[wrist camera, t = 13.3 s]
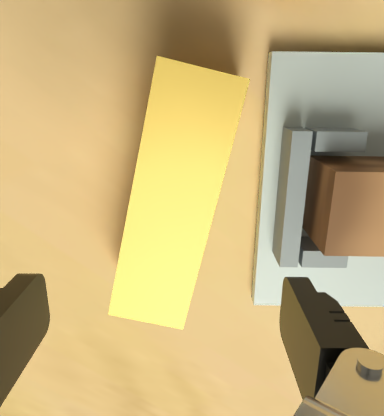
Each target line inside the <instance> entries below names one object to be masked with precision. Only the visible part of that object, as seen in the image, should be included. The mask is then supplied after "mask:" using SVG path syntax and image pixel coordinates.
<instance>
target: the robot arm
mask: <svg viewBox="0 0 384 416" xmlns="http://www.w3.org/2000/svg"><path fill="white" fill-rule="evenodd" d="M49 321H50V313H49V306H48V298H47V291H46V284H45V278H44V276H43V275H42V274H17V275H16V276H15V277H14V278H13V279H12V280H11V281H10V282H9V283H8V284H7V285H6V286H5V287H4V288H0V407H1V405H2V403H3V402H4V400H5V399H6V397H7V395H8V394H9V392H10V391H11V389H12V387H13V386H14V384H15V383H16V381H17V379H18V378H19V376H20V375H21V373H22V371H23V370H24V368H25V367H26V365H27V363H28V362H29V360H30V359H31V357H32V355H33V354H34V352H35V351H36V349H37V347H38V346H39V344H40V343H41V341H42V339H43V338H44V336H45V335H46V333H47V330H48V327H49ZM280 332H281V337H282V340H283V343H284V346H285V349H286V352H287V355H288V358H289V361H290V364H291V367H292V370H293V372H294V375H295V378H296V381H297V384H298V387H299V390H300V393H301V396H302V399H303V401H302V403H301V404H300V406H299V408H298V409H297V411H296V413H295V414H294V416H384V355H383V354H381V353H378V352H376V351H373V350H370V349H369V348H368V346H367V345H366V343H365V342H364V340H363V339H362V337H361V336H360V334H359V333H358V331H357V330H356V328H355V327H354V325H353V324H352V322H350V319H349V318H348V316H347V315H346V313H344V310H343V309H342V307H341V306H340V304H339V303H338V301H337V300H335V299H334V298H333V297H331V296H330V295H328V294H327V293H326V292H317V291H316V289H315V288H314V286H313V284H312V282H311V281H310V279H309V278H308V277H285V278H284V280H283V286H282V298H281V309H280Z"/></svg>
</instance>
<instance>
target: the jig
mask: <svg viewBox="0 0 384 416" xmlns="http://www.w3.org/2000/svg"><path fill="white" fill-rule="evenodd" d="M310 155H312V156H384V53H378V52H283V51H272V52H270V53H268V67H267V81H266V95H265V110H264V124H263V138H262V152H261V167H260V181H259V195H258V210H257V224H256V238H255V253H254V267H253V281H252V295H251V297H252V301H253V304H254V305H281V298H282V286H283V280H284V278H285V277H308V278H309V279H310V281H311V282H312V284H313V286H314V288H315V289H316V291H317V292H326V293H327V294H328V295H330V296H331V297H333V298H334V299H335V300H337V301H338V303H339V304H340V306H364V307H384V257H366V256H324V255H323V254H322V252H321V251H320V250H319V249H318V247H317V246H316V245H315V243H314V242H313V241H312V239H311V238H310V237H309V236H308V234H307V233H306V232H305V230H304V229H303V228H302V224H303V216H304V207H305V198H306V189H307V180H308V171H309V162H310Z"/></svg>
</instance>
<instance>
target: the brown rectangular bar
mask: <svg viewBox="0 0 384 416" xmlns="http://www.w3.org/2000/svg"><path fill="white" fill-rule="evenodd" d="M302 228H303V229H304V230H305V232H306V233H307V234H308V236H309V237H310V238H311V239H312V241H313V242H314V243H315V245H316V246H317V247H318V249H319V250H320V251H321V252H322V254H323V255H324V256H366V257H384V156H312V155H310V162H309V171H308V180H307V189H306V198H305V207H304V216H303V224H302Z"/></svg>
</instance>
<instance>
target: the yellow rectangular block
mask: <svg viewBox="0 0 384 416" xmlns="http://www.w3.org/2000/svg"><path fill="white" fill-rule="evenodd" d="M249 81H250V79H248V78H244V77H240V76H236V75H232V74H228V73H224V72H220V71H216V70H212V69H208V68H204V67H200V66H196V65H192V64H188V63H184V62H180V61H176V60H172V59H168V58H164V57H160V56H157V57H156V63H155V68H154V73H153V79H152V84H151V89H150V95H149V100H148V105H147V110H146V116H145V121H144V126H143V132H142V137H141V142H140V148H139V153H138V158H137V163H136V169H135V174H134V179H133V185H132V190H131V195H130V201H129V206H128V211H127V216H126V222H125V227H124V232H123V238H122V243H121V248H120V253H119V259H118V264H117V269H116V275H115V280H114V285H113V291H112V296H111V301H110V306H109V312H108V315H112V316H117V317H122V318H127V319H132V320H137V321H142V322H147V323H152V324H157V325H162V326H167V327H172V328H177V329H182V330H183V328H184V324H185V320H186V317H187V313H188V309H189V305H190V302H191V298H192V294H193V290H194V287H195V283H196V279H197V275H198V272H199V268H200V264H201V260H202V257H203V253H204V249H205V246H206V242H207V238H208V234H209V231H210V227H211V223H212V219H213V216H214V212H215V208H216V204H217V201H218V197H219V193H220V190H221V186H222V182H223V178H224V175H225V171H226V167H227V163H228V160H229V156H230V152H231V148H232V145H233V141H234V137H235V133H236V130H237V126H238V122H239V119H240V115H241V111H242V107H243V104H244V100H245V96H246V92H247V89H248V85H249Z"/></svg>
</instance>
